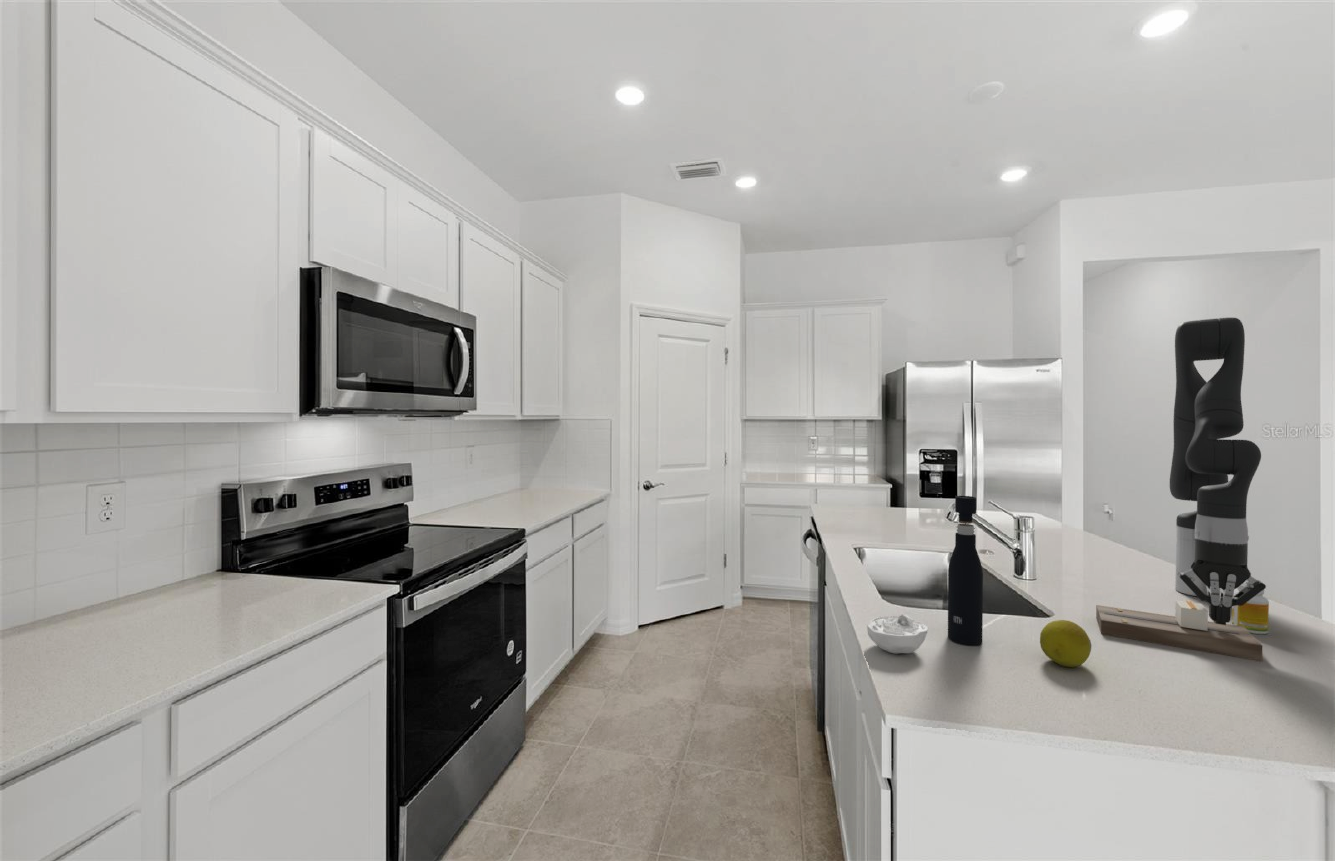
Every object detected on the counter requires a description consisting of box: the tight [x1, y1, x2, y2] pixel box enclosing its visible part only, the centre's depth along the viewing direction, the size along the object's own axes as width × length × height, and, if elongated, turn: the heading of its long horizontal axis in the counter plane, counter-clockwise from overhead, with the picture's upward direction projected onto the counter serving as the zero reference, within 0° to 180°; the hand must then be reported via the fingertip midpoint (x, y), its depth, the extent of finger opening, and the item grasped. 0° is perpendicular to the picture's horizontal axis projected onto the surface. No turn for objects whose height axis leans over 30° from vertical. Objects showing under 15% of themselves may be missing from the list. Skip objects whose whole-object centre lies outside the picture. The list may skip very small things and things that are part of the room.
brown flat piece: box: [1095, 604, 1263, 662], centre depth 115 cm, size 11×24×3 cm, turn 56°
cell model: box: [866, 614, 929, 654], centre depth 110 cm, size 10×12×7 cm
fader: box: [1174, 600, 1209, 631], centre depth 113 cm, size 5×4×4 cm
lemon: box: [1039, 619, 1092, 668], centre depth 103 cm, size 11×8×8 cm
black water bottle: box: [947, 495, 984, 647], centre depth 114 cm, size 6×6×30 cm
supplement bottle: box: [1231, 582, 1270, 635], centre depth 118 cm, size 5×5×10 cm
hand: (1219, 623), depth 111 cm, fingers closed
